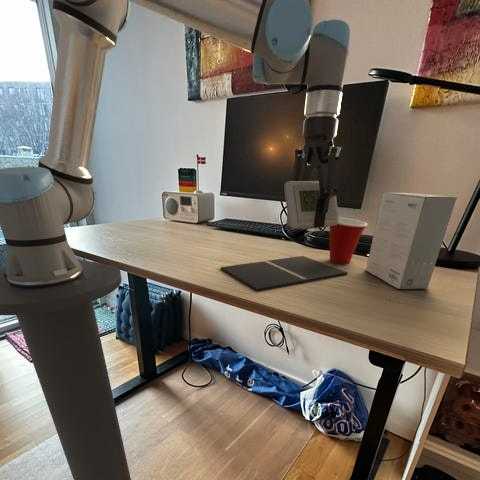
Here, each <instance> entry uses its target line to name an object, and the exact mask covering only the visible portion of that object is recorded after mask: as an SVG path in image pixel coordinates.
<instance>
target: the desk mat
mask: <svg viewBox="0 0 480 480" xmlns="http://www.w3.org/2000/svg"><path fill="white" fill-rule="evenodd" d="M220 270H222V271H223V272H224V273H227V274H228V275H230V276H231V277H233V278H234V279H236V280H237V281H240V282H241V283H242V284H245V285H246V286H248V287H249V288H251V289H252V290H254V291H256V292H261V291H267V290H272V289H277V288H281V287H287V286H292V285H293V286H294V285H298V284H304V283H308V282H313V281H320V280H324V279H330V278H336V277H340V276H346V275H348V272H347V271H346V270H342V269H339V268H337V267H334V266H331V265H329V264H326V263H323V262H321V261H319V260H316V259H312V258H310V257H307V256H305V255H299V256H293V257H292V256H291V257H284V258H278V259H269V260H261V261H256V262H255V261H254V262H248V263H241V264H240V263H239V264H233V265H227V266H220Z"/></svg>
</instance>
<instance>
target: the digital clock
mask: <svg viewBox="0 0 480 480" xmlns="http://www.w3.org/2000/svg"><path fill="white" fill-rule="evenodd" d="M283 190H284V198H285V205H286V214H287V216H286V226H287V227H289V228H290V229H291V230H311V229H322V228H329V227H330V226H333V225H337V223H338V220H339V218H338V217H339V210H338V208H339V207H338V201H337V196H333V197H331V198H330V201H329V208H328V212H327V213H326V217H325V224H324V227H314V222H315V214H316V206H317V198H318V197H319V196H320V188H319V180H309V181H292V180H289V181H285V183H284V185H283ZM325 192H326V191H325Z"/></svg>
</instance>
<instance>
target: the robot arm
mask: <svg viewBox="0 0 480 480" xmlns="http://www.w3.org/2000/svg"><path fill="white" fill-rule="evenodd" d="M132 4H134V5H137V6H139V7H141V8H144V9H147V10H149V11H152V12H153V13H156V14H158V15H160V16H163V17H166V18H168V19H170V20H173V21H175V22H177V23H180V24H182V25H184V26H187V27H190V28H192V29H194V30H197V31H199V32H202V33H204V34H206V35H208V36H210V37H213V38H216V39H218V40H220V41H223V42H225V43H227V44H229V45H232V46H234V47H237V48H239V49H241V50H244V51H246V52H249V53H250V54H252V80H253V81H254V83H256V84H265V85H267V86H269V85H306V94H305V95H306V96H305V103H304V116H305V117H306V118H305V119H304V120H303V125H302V126H303V127H302V138H303V139H304V144H303V147H301V148H295V149H294V163H293V164H294V165H293V170H292V175H291V181H310V179H311V176H312V173H313V170H314V169H315V168H316V169H317V179H318V181H319V188H320V196H319V197H318V198H317V206H316V214H315V222H314V227H324V224H325V217H326V213H327V212H328V208H329V201H330V198H331V197H333V196H336V197H337V196H338V194H339V186H340V185H339V184H340V183H339V182H340V171H341V159H342V155H343V152H344V147H342V146H335V145H334V139H335V138H336V137H337V134H338V133H337V132H338V126H339V119H338V118H337V117H338V116H339V115H340V111H341V103H342V97H343V89H344V83H345V82H344V81H345V75H346V68H347V63H348V56H349V54H350V53H349V52H350V51H349V49H350V38H351V37H350V36H351V28H350V25H349V24H348V23H347V22H346V21H344V20H341V19H334V18H333V19H329V20H323V21H320V22H318V23H317V24H316V25H315V26H314V16H313V15H314V14H313V11H312V8H311V6H310V4H309V2H308V1H307V0H53V2H52V14H53V16H54V17H55V19H56V21H57V23H58V25H59V36H58V45H57V55H56V64H55V65H56V67H55V74H54V75H55V77H54V84H53V85H54V86H53V96H52V105H51V113H50V115H51V116H50V123H49V133H48V134H49V135H48V144H47V152H46V153H45V154H44V155H42V156H40V157H39V158H38V164H37V166H17V167H5V168H0V229H1V233H2V235H3V238H4V241H5V245H6V249H7V255H6V267H7V268H6V274H5V275H4V277H5V278H7V279H8V282H9V284H10V285H11V286H14V287H18V288H44V287H51V286H57V285H62V284H65V283H69V282H72V281H74V280H76V279H78V278H80V277H81V276H82V275H83V270H82V267H81V264H80V262H79V261H78V259H79V258H78V257H77V256H76V254H75V253H74V251H73V249H72V247H71V246H70V244H69V241H68V239H67V238H68V237H67V235H66V234H67V233H66V230H65V225H69V224H72V223H78V222H81V221H83V220H85V219H86V218H88V217H89V216H90V215H92V214H93V212H94V210H95V208H96V205H97V194H96V190H95V189H94V187H93V182H94V175H93V173H92V171H91V170H90V169H89V164H90V158H91V150H92V144H93V138H94V131H95V126H96V120H97V113H98V107H99V101H100V96H101V95H100V94H101V89H102V82H103V75H104V68H105V62H106V56H107V53H108V52H110V51H112V50H113V49H116V46H117V40H118V34H119V33H120V32H122V31H123V30H124V29H125V28H126V26H127V24H128V22H129V20H130V17H131V12H132V11H131V10H132ZM325 191H326V192H325ZM324 228H325V227H324Z"/></svg>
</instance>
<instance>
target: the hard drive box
mask: <svg viewBox="0 0 480 480" xmlns="http://www.w3.org/2000/svg"><path fill="white" fill-rule="evenodd" d="M457 199H458V197H456V196H446V195H436V194H427V193H426V194H425V193H413V192H382V195H381V198H380V204H379V208H378V213H377V217H376V221H375V225H374V230H373V234H372V235H373V236H372V241H371V244H370V249H369V254H368V258H367V261H366V267H365V271H366V272H368V273H370V274H372V275H373V276H376V277H377V278H379V279H381V280H382V281H384V282H385V283H387V284H388V285H390V286H392V287H394V288H396V289H398V290H417V289H418V290H421V289H422V290H423V289H424V290H425V289H429V285H430V283H431V279H432V276H433V273H434V270H435V267H436V264H437V261H438V257H439V254H440V250H441V248H442V246H443V245H442V244H443V242H444V239H445V236H446V233H447V230H448V226H449V223H450V220H451V217H452V214H453V211H454V208H455V204H456V202H457Z"/></svg>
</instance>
